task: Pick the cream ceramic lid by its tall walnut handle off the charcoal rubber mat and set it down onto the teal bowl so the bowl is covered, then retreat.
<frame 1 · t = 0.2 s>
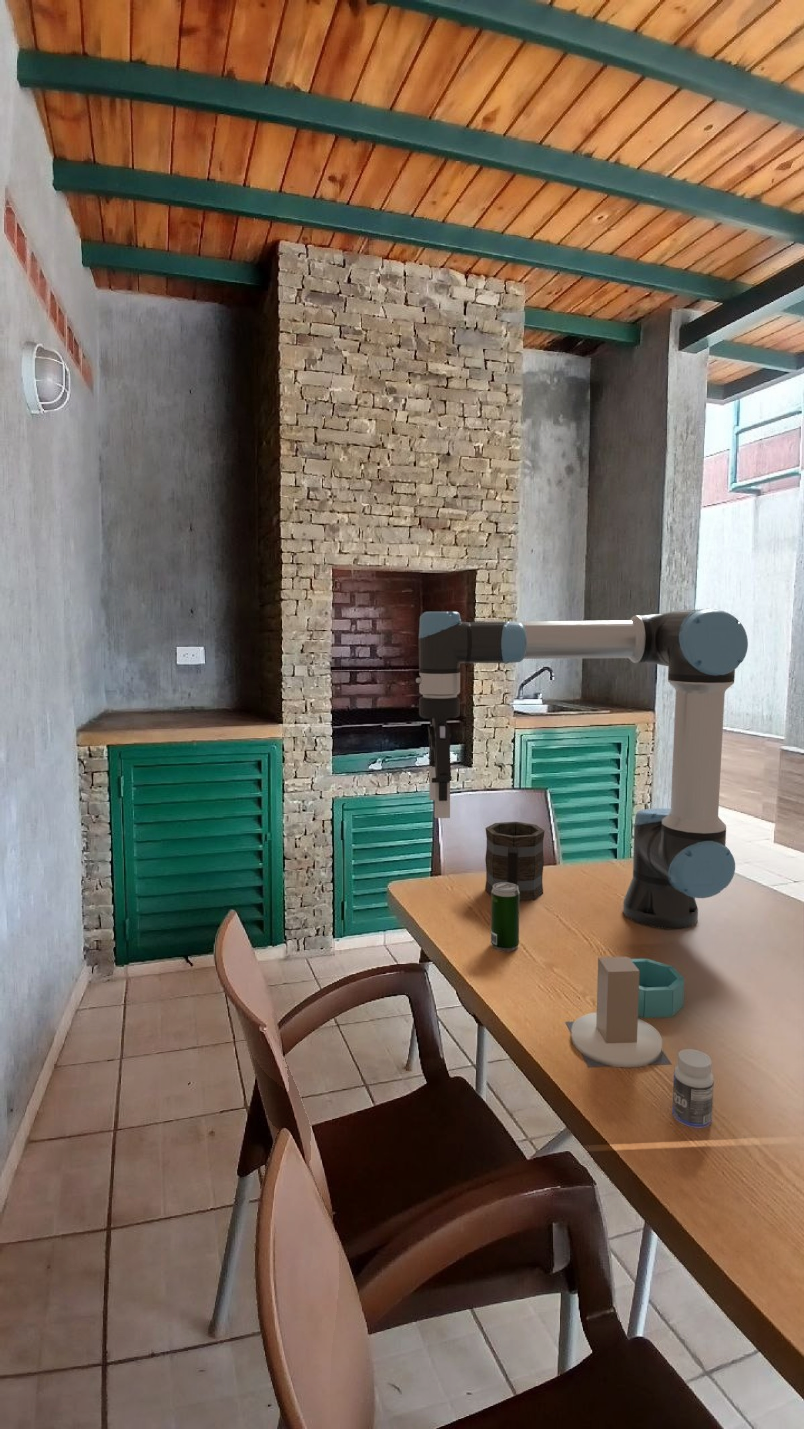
hand: (439, 808, 142), 28 cm above the table, fingers open, 13 cm apart
mug: (513, 897, 173), on the table
lid: (615, 1041, 112), resting on mat
bowl: (644, 1002, 125), on the table
beer can: (504, 947, 147), on the table
mat: (615, 1045, 113), on the table
pill bottle: (691, 1120, 96), on the table
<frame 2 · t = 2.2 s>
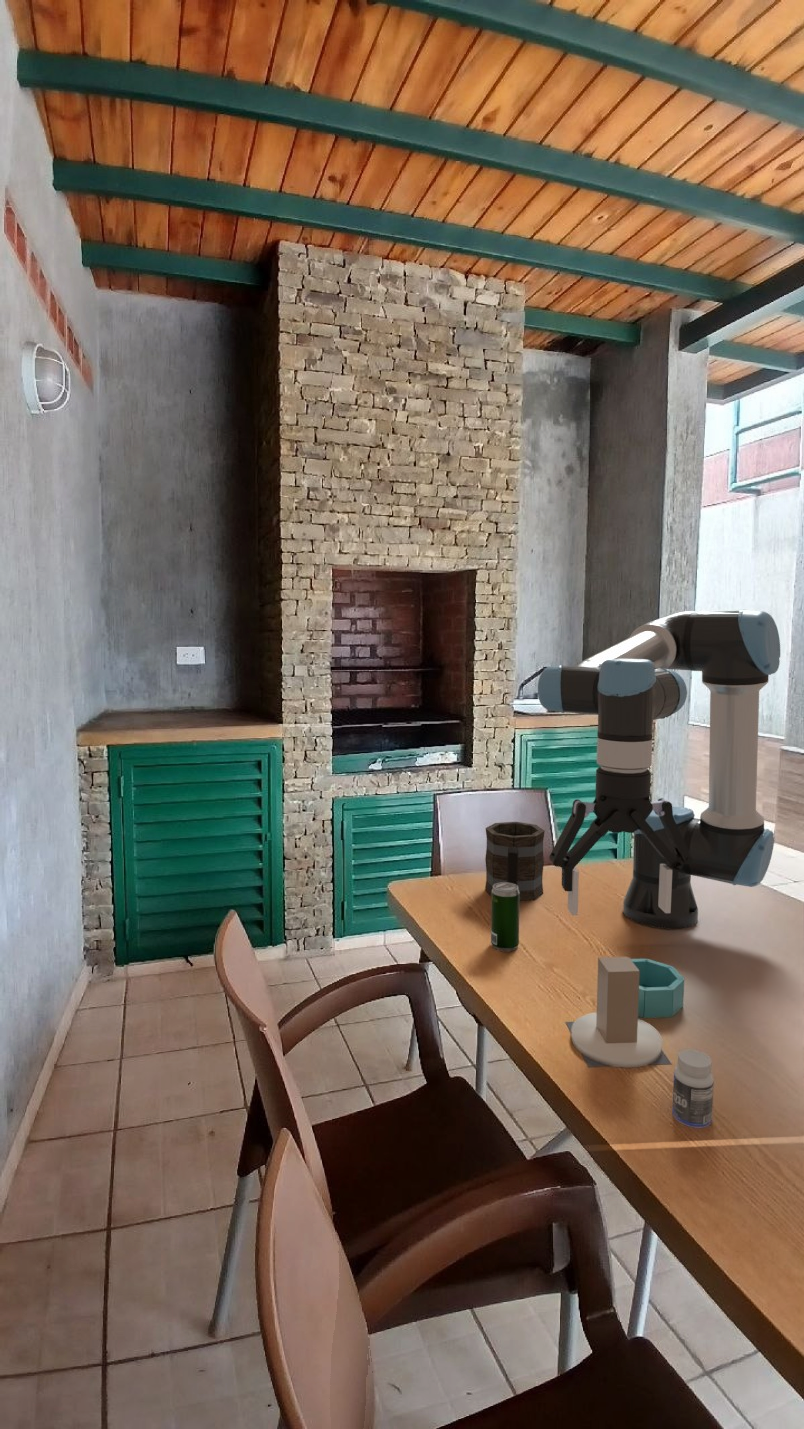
hand: (618, 911, 110), 21 cm above the table, fingers open, 13 cm apart
nothing on the table moved.
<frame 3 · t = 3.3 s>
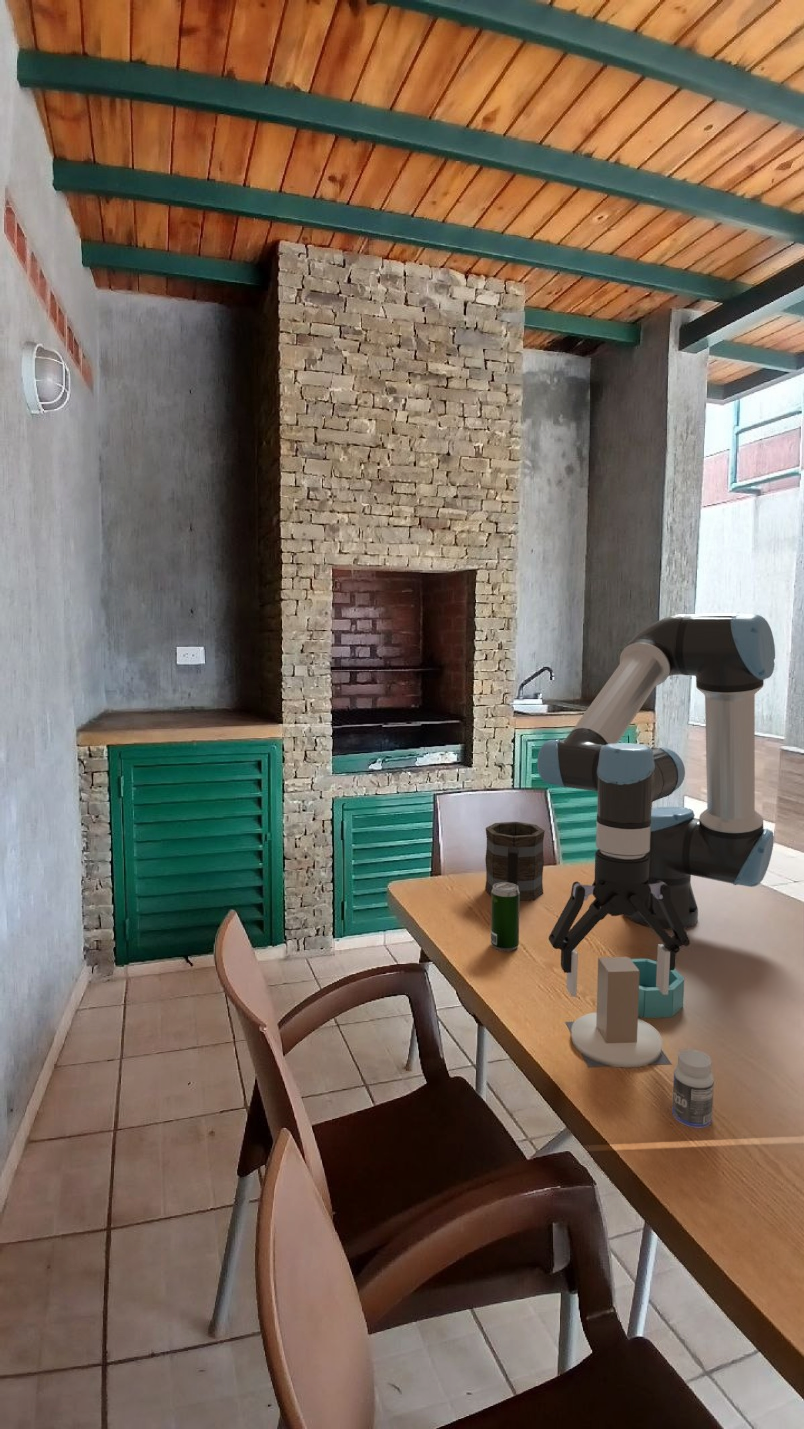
hand: (616, 991, 111), 9 cm above the table, fingers open, 13 cm apart
nothing on the table moved.
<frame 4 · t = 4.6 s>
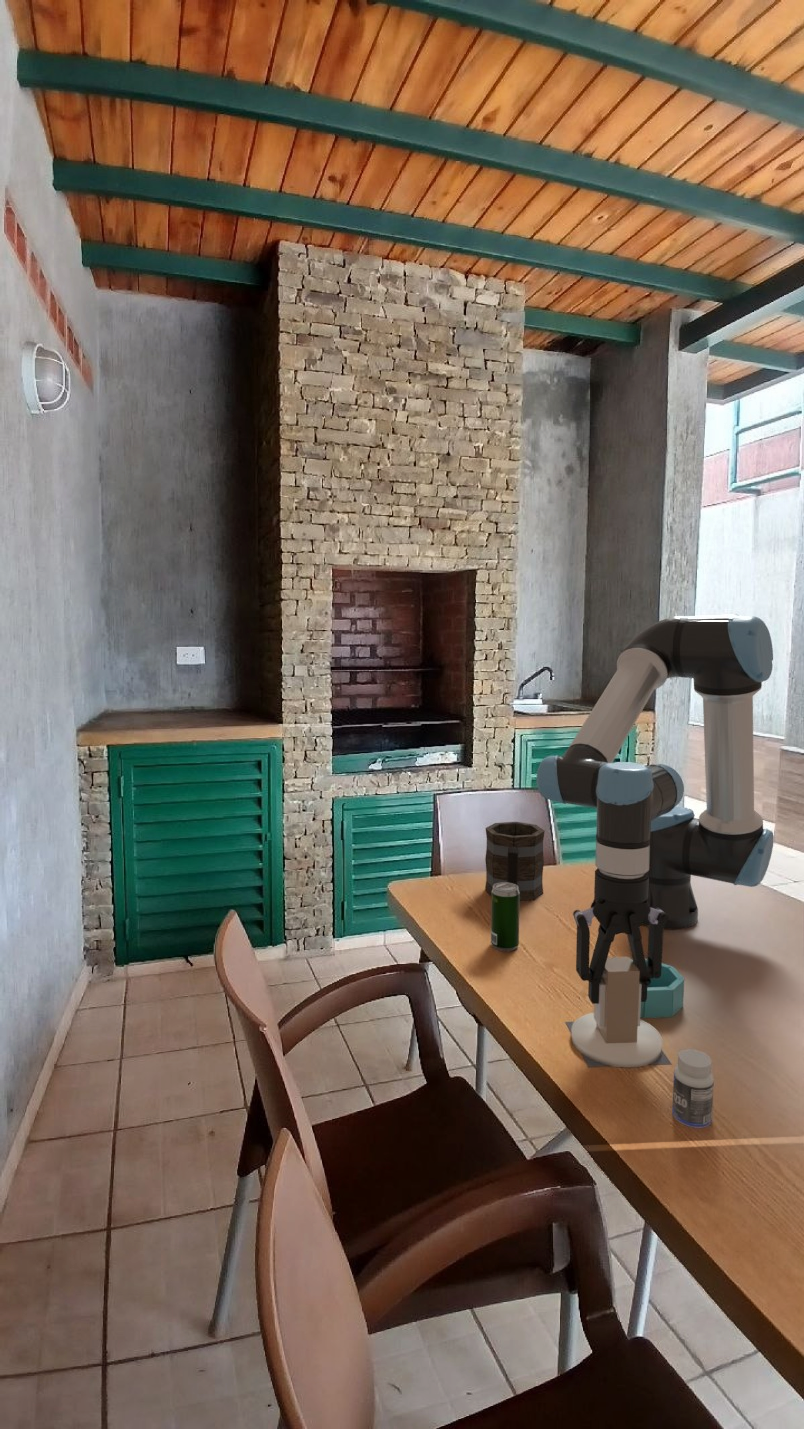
hand: (616, 1021, 112), 4 cm above the table, fingers closed on lid, 5 cm apart
lid: (615, 1041, 112), point 1 cm above the table, touching gripper, mat
everything else where it was.
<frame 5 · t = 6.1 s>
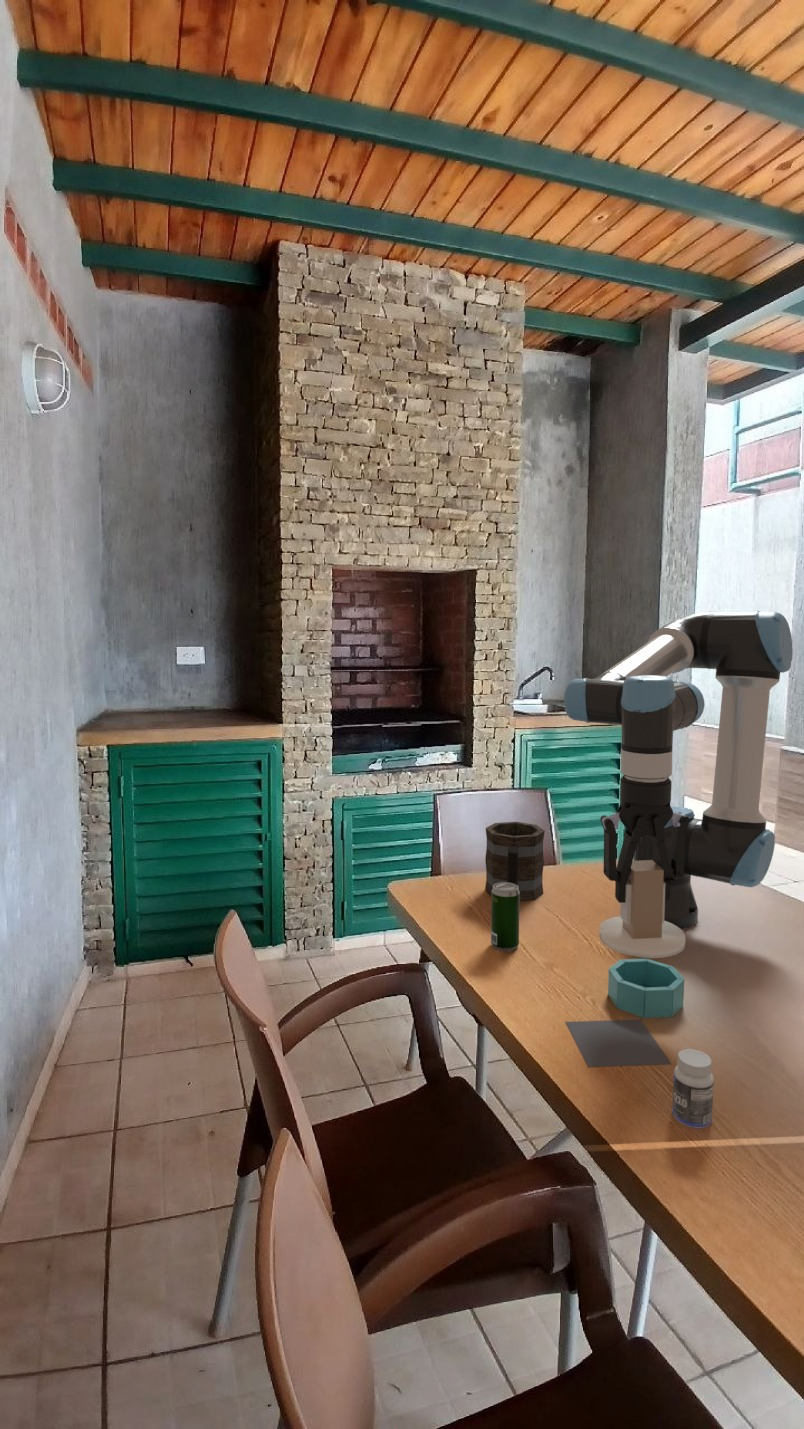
hand: (642, 919, 120), 16 cm above the table, fingers closed on lid, 5 cm apart
lid: (641, 939, 120), point 12 cm above the table, touching gripper
everything else where it was.
when the fingers open (10 cm above the table, at t = 7.9 s): lid drops 1 cm, resting on bowl.
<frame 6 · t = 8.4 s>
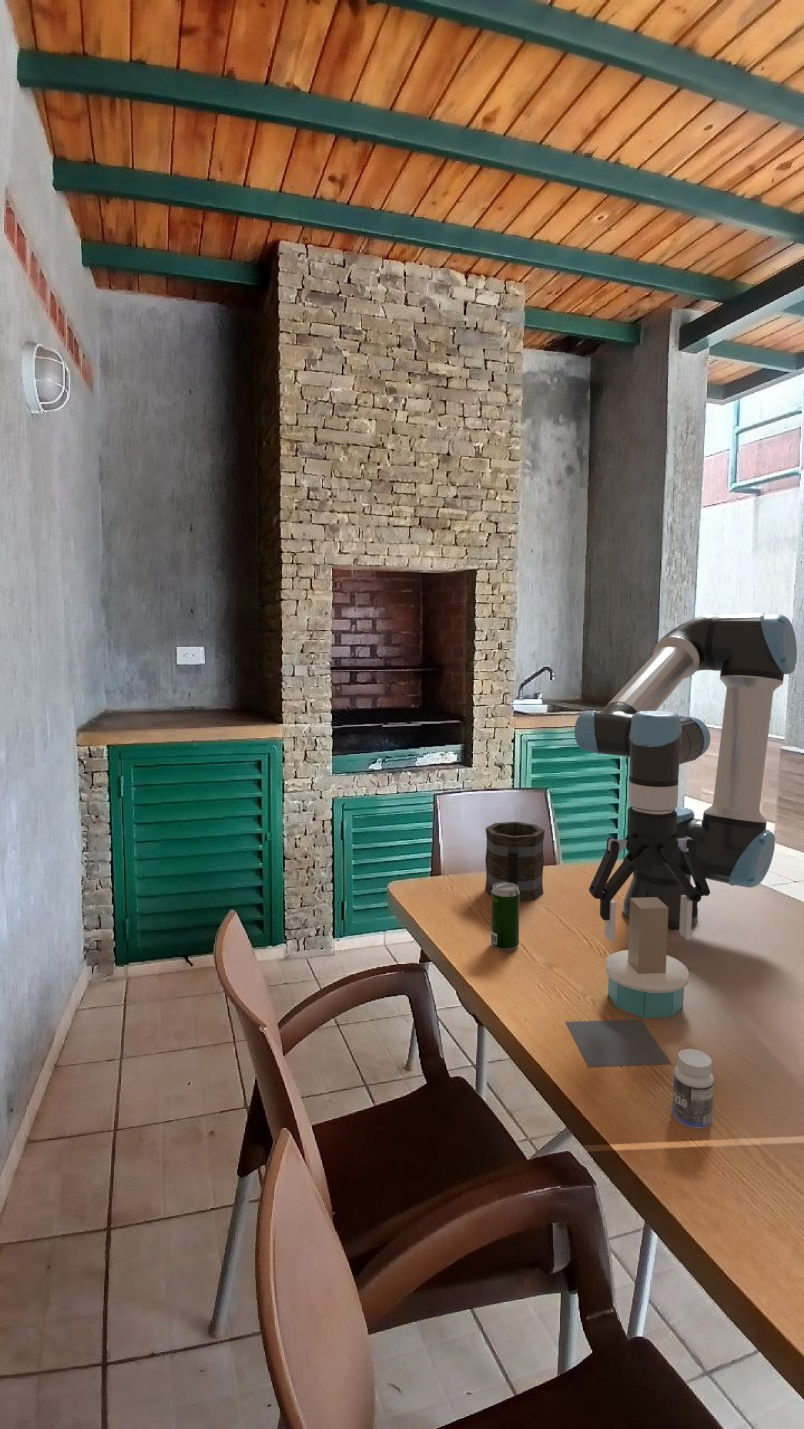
hand: (647, 937, 124), 11 cm above the table, fingers open, 12 cm apart
lid: (646, 973, 124), point 5 cm above the table, touching bowl
everything else where it was.
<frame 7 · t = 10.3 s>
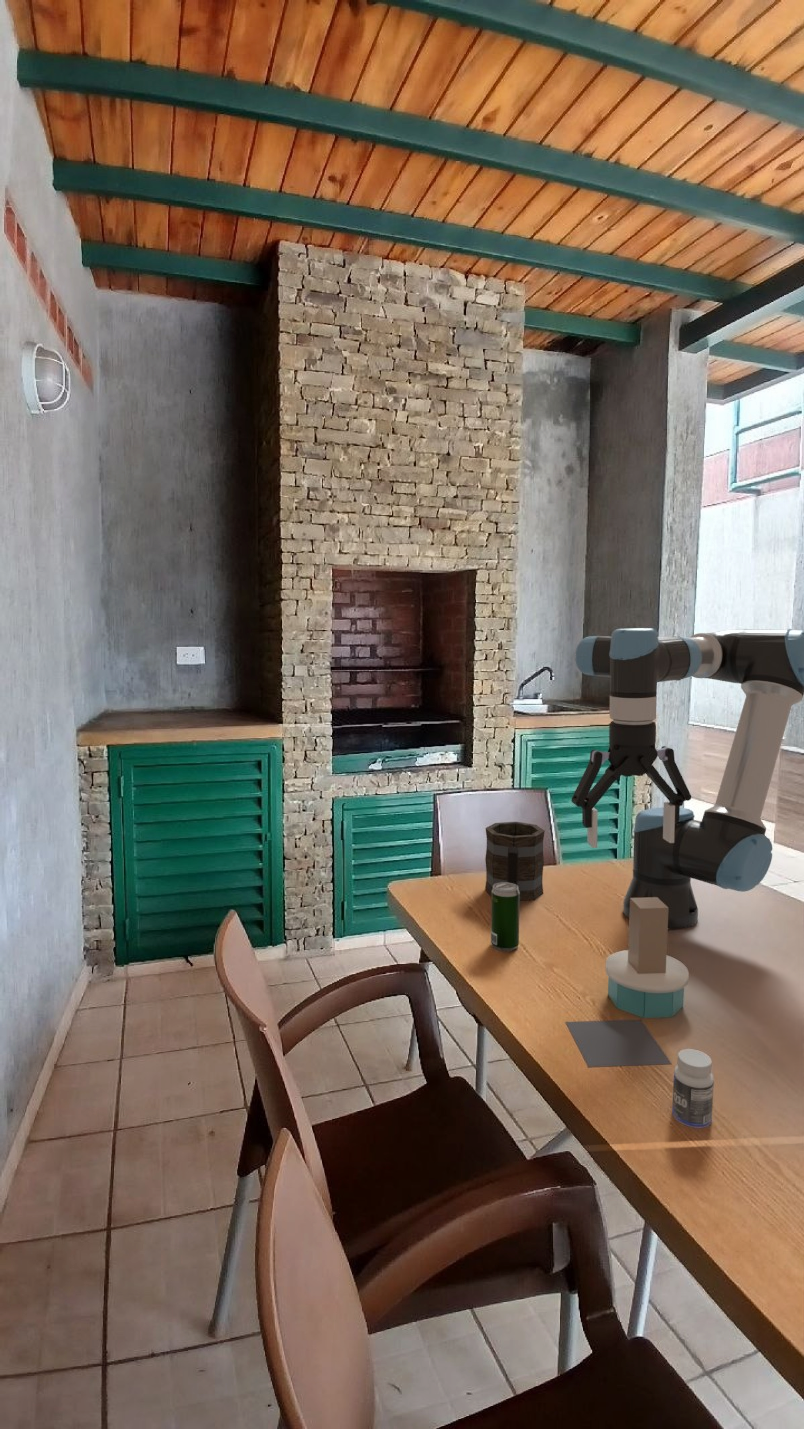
hand: (630, 843, 130), 25 cm above the table, fingers open, 13 cm apart
nothing on the table moved.
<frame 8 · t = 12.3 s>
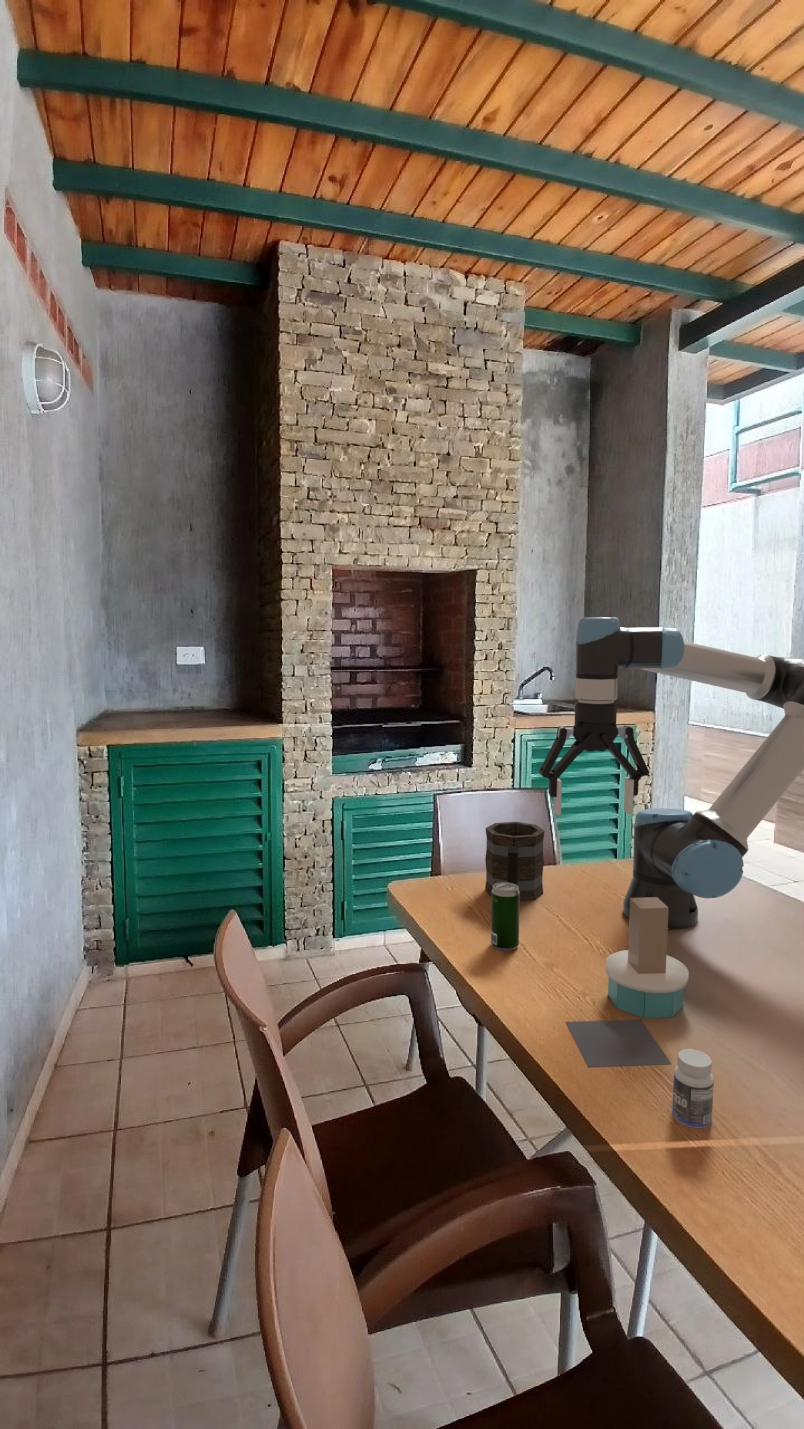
hand: (592, 813, 142), 27 cm above the table, fingers open, 13 cm apart
nothing on the table moved.
at the end: lid 0.0 cm off-centre on the bowl, point 5.0 cm above the bowl's base; lid tilted 0°; the gripper is holding nothing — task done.
